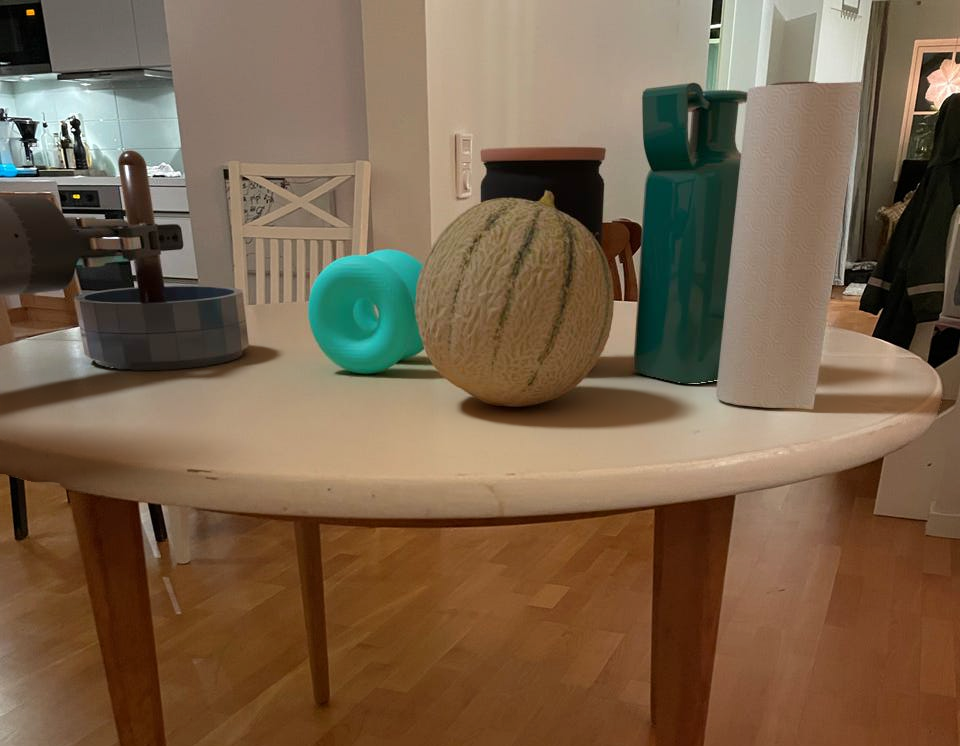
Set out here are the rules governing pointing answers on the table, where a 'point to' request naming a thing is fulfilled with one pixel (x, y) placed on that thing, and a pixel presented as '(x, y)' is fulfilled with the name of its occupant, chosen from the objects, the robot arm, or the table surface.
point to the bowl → (163, 327)
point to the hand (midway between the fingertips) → (168, 236)
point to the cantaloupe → (515, 302)
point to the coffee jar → (549, 179)
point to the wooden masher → (141, 212)
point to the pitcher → (686, 230)
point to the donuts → (367, 310)
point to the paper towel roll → (785, 240)
